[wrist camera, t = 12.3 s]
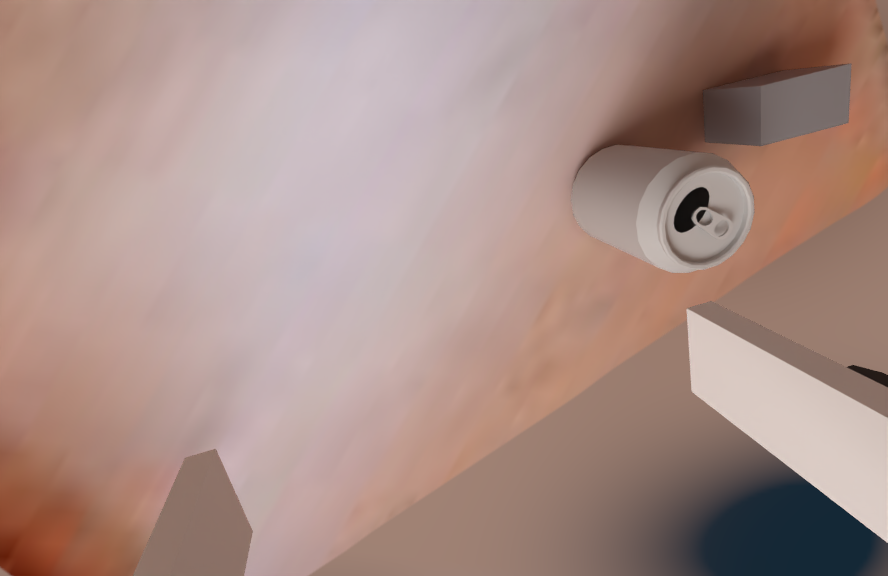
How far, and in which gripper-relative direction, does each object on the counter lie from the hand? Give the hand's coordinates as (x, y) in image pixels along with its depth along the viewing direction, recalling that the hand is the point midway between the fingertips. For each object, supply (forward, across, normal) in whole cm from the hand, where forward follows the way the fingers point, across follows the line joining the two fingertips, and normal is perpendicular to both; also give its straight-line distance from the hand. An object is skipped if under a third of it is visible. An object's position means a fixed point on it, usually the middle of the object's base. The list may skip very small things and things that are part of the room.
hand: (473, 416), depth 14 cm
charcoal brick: (+27, +30, +2) cm, 40 cm away
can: (+27, +18, -2) cm, 32 cm away
